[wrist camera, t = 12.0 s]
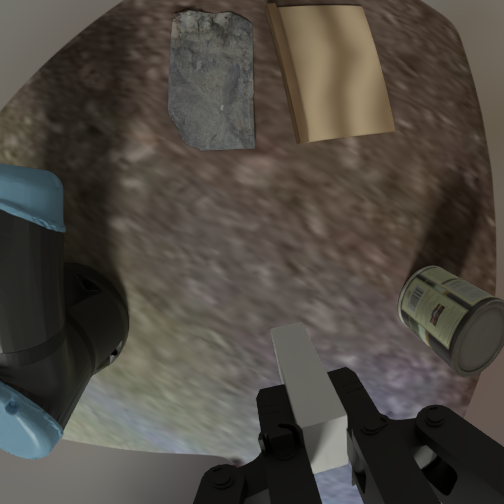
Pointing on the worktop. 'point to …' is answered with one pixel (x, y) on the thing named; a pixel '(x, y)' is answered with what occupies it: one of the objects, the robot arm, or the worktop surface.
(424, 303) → the coffee can
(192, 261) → the worktop surface
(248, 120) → the stone slab
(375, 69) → the board
